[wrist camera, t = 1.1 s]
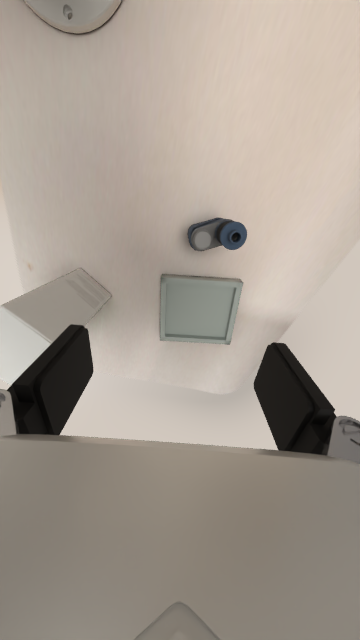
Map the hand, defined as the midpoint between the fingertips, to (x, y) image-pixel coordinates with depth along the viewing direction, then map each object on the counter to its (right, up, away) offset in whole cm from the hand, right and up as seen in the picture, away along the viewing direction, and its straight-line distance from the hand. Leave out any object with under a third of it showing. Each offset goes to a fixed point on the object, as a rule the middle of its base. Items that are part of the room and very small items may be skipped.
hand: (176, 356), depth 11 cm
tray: (+3, +4, +23) cm, 24 cm away
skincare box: (-16, +6, +23) cm, 28 cm away
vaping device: (+4, +14, +18) cm, 23 cm away
